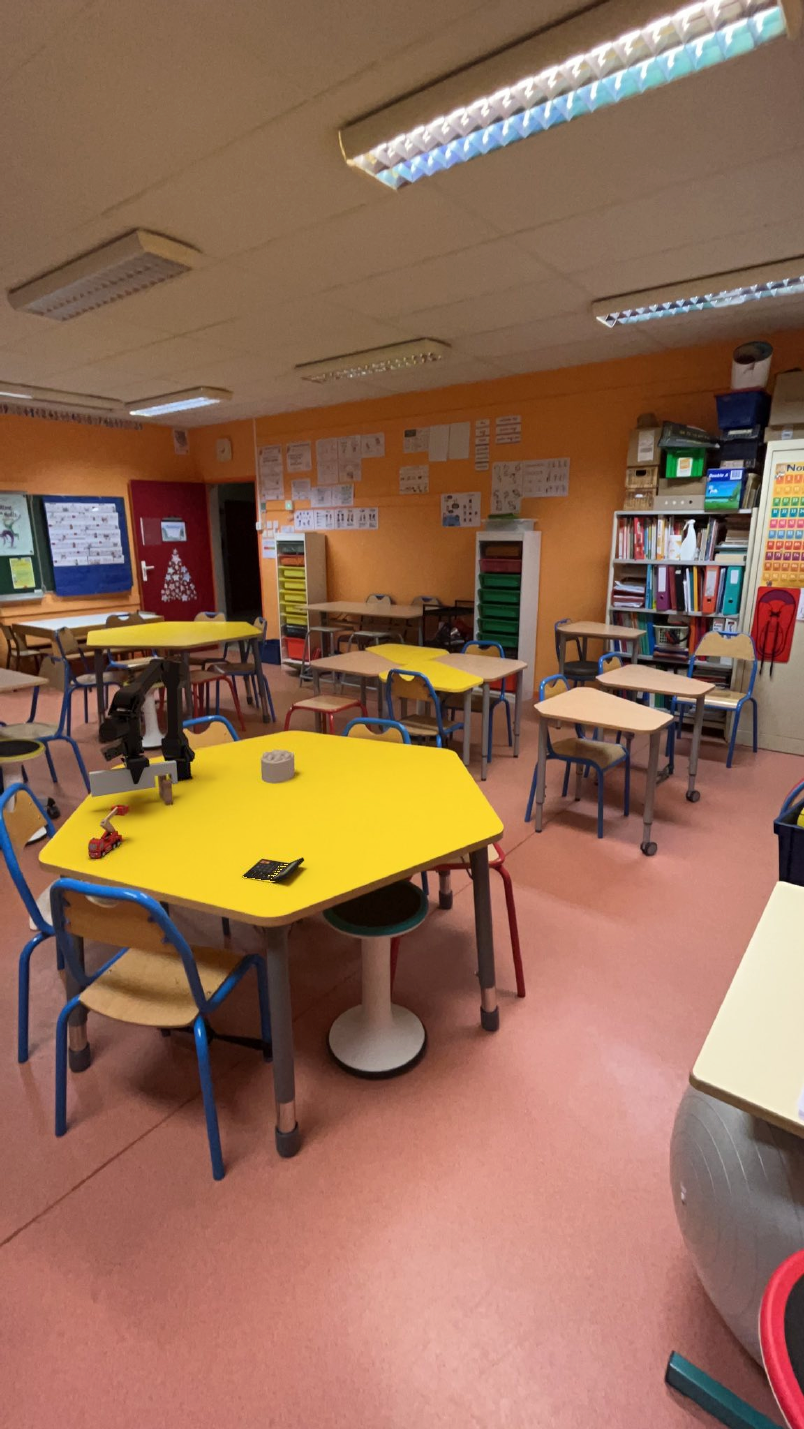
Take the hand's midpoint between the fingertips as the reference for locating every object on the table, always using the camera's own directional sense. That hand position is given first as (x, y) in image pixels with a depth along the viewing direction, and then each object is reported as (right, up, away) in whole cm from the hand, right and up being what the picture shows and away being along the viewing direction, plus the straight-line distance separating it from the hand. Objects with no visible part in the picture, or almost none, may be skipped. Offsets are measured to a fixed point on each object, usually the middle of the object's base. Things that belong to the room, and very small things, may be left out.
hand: (135, 782), depth 195 cm
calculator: (+49, -18, -38) cm, 65 cm away
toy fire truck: (+5, -14, -27) cm, 31 cm away
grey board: (0, -2, +1) cm, 2 cm away
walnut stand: (+7, -6, +6) cm, 11 cm away
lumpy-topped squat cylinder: (+37, -1, +28) cm, 47 cm away
